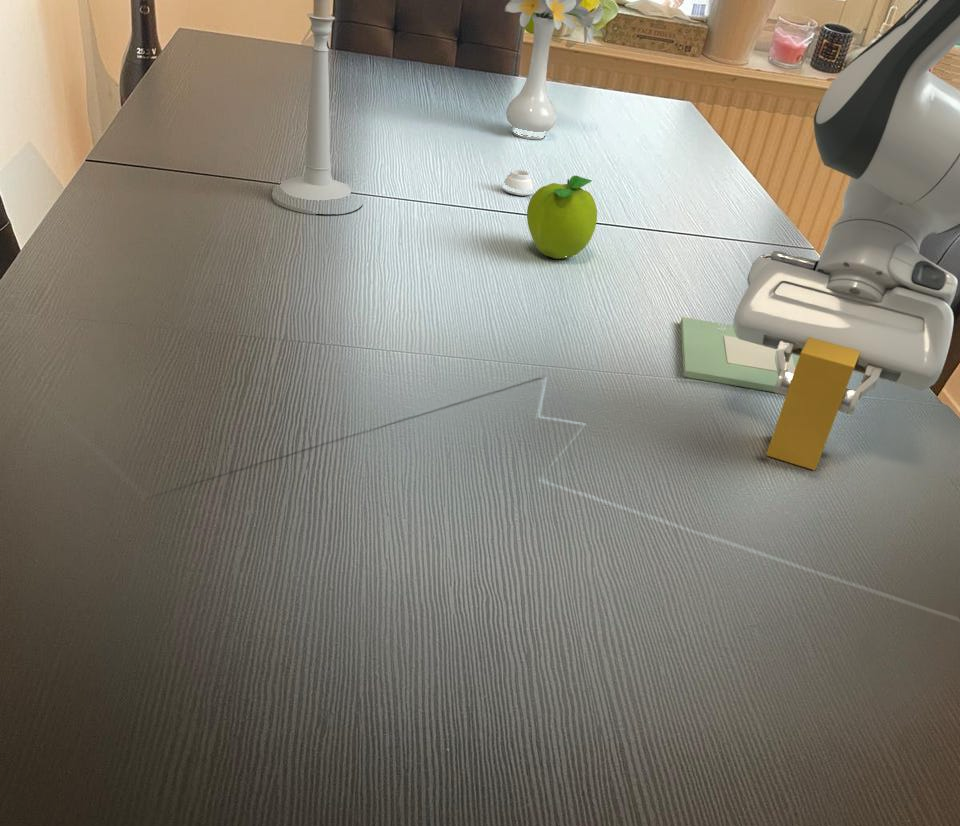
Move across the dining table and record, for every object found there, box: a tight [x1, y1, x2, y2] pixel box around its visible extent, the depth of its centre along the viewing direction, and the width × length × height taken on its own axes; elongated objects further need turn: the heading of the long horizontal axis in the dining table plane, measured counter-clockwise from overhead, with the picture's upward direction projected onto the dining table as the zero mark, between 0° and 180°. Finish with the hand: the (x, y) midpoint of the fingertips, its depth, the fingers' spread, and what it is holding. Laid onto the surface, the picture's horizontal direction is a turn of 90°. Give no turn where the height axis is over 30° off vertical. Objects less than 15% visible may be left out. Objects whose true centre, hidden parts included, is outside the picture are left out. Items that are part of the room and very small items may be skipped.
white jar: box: [501, 169, 535, 197], centre depth 160 cm, size 5×3×5 cm
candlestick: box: [271, 0, 351, 216], centre depth 136 cm, size 13×13×30 cm
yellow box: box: [766, 337, 860, 471], centre depth 100 cm, size 5×5×11 cm
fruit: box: [526, 175, 598, 260], centre depth 137 cm, size 9×9×10 cm
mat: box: [680, 316, 799, 394], centre depth 120 cm, size 18×16×1 cm
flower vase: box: [504, 0, 606, 141], centre depth 181 cm, size 13×18×25 cm
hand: (813, 401), depth 99 cm, fingers closed on yellow box, 5 cm apart
